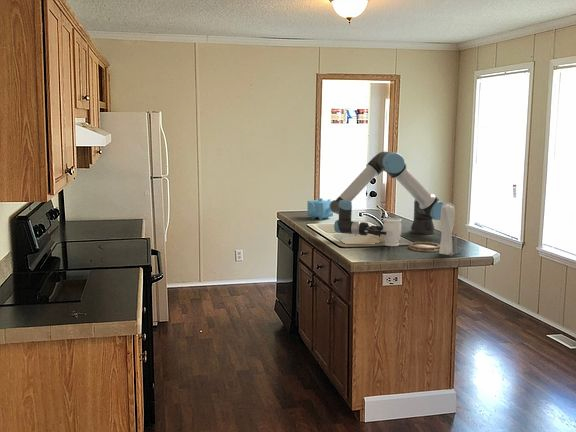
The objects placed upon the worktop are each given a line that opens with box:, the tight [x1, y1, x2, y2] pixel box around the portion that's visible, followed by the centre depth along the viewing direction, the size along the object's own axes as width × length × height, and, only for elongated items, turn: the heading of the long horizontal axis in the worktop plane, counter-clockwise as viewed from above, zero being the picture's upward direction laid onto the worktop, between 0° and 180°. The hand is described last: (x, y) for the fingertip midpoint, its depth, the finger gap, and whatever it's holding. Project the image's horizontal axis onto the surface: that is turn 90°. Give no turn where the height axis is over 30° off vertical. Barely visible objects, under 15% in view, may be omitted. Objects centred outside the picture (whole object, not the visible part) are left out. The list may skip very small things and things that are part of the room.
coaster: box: [408, 241, 440, 253], centre depth 336 cm, size 17×17×2 cm
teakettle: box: [306, 197, 334, 221], centre depth 437 cm, size 19×19×15 cm
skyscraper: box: [438, 202, 458, 256], centre depth 322 cm, size 8×8×28 cm
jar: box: [382, 217, 403, 247], centre depth 344 cm, size 11×10×15 cm
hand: (396, 231), depth 342 cm, fingers open, 13 cm apart
